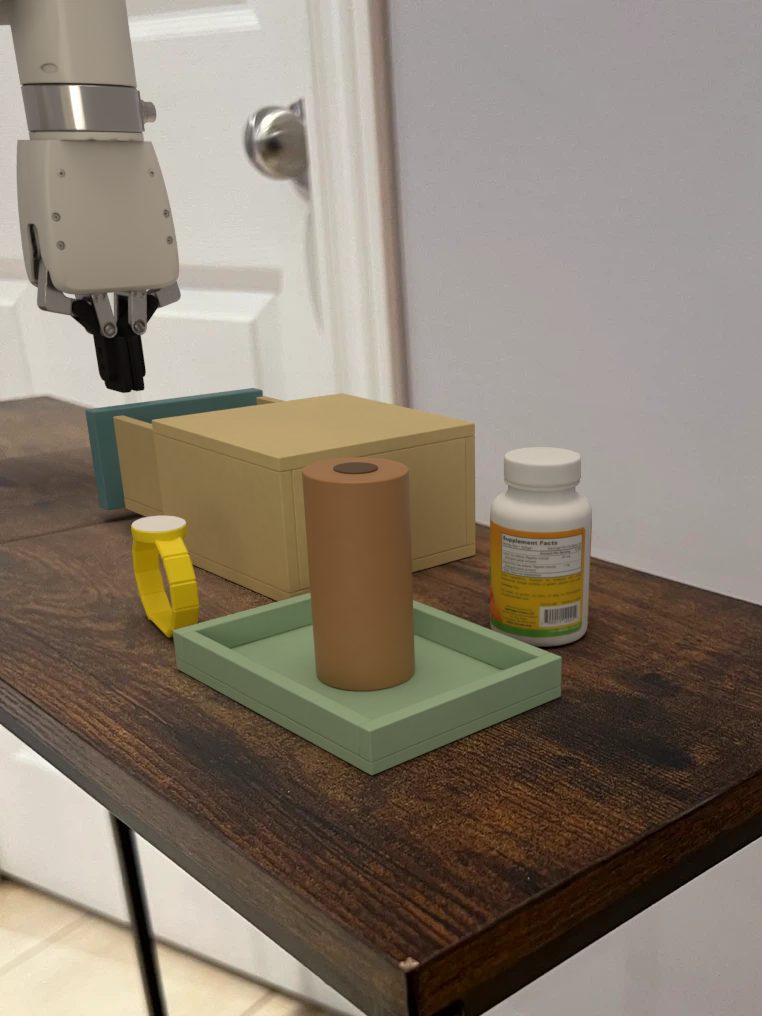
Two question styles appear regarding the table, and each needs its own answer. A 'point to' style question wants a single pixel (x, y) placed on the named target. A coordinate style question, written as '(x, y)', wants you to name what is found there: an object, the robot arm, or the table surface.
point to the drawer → (145, 445)
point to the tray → (379, 713)
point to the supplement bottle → (540, 549)
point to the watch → (166, 541)
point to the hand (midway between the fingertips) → (125, 388)
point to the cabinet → (279, 487)
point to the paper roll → (360, 571)
